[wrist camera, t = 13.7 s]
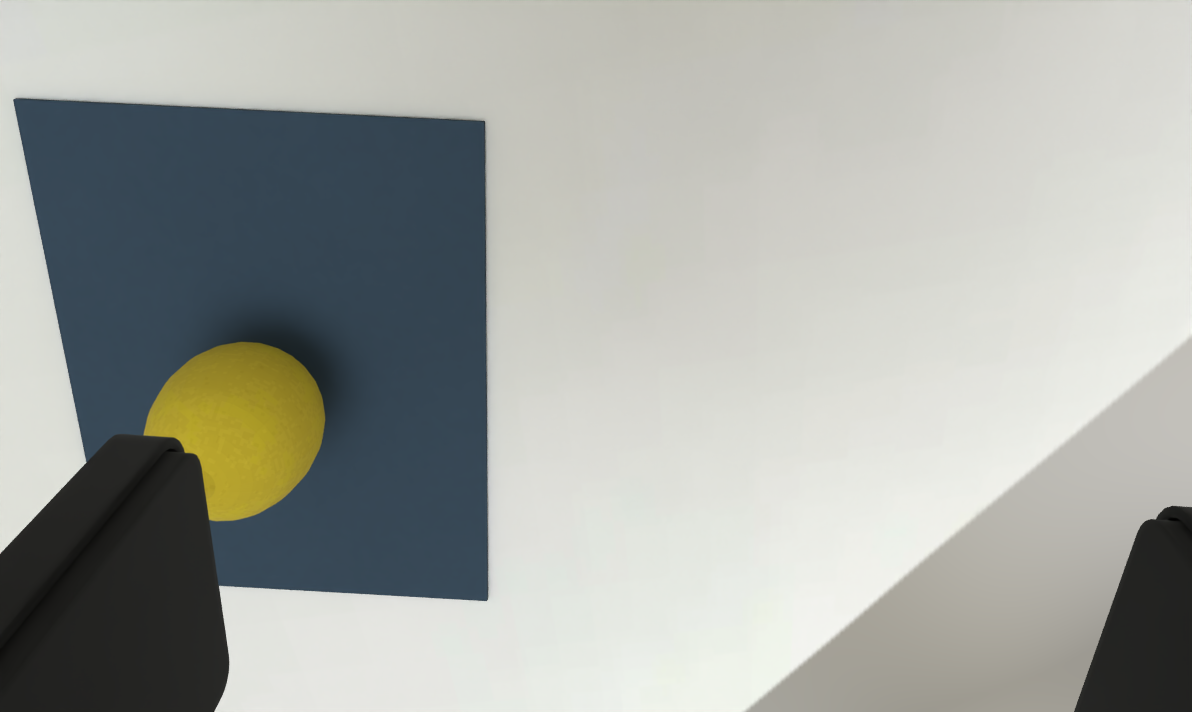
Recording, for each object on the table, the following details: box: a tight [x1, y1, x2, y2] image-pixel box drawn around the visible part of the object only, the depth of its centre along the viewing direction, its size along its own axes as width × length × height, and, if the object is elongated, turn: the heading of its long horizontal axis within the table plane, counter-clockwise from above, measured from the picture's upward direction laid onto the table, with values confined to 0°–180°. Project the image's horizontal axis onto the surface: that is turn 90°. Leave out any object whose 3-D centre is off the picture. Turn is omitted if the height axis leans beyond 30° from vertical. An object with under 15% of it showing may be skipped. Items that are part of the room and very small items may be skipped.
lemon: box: [144, 342, 325, 521], centre depth 34 cm, size 6×6×8 cm
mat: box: [13, 98, 488, 601], centre depth 38 cm, size 20×16×1 cm
